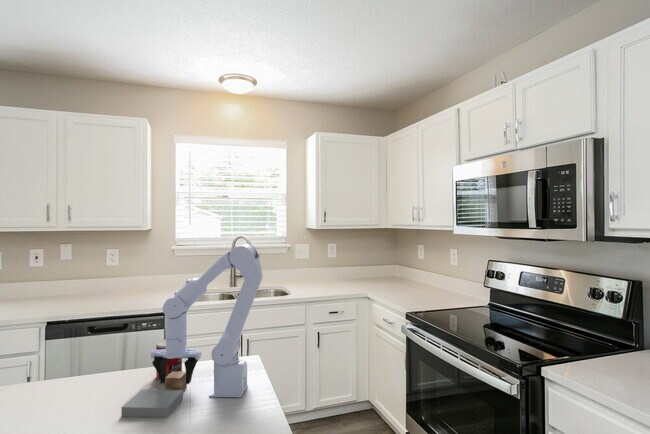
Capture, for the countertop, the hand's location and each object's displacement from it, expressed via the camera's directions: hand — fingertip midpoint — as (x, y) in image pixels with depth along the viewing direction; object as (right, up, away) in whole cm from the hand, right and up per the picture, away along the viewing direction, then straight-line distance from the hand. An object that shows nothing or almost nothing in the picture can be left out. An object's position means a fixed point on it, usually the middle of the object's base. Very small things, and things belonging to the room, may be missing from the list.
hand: (175, 382), depth 111 cm
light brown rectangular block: (0, -3, 0) cm, 3 cm away
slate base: (-2, -3, -9) cm, 10 cm away
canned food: (-6, -3, +11) cm, 13 cm away
